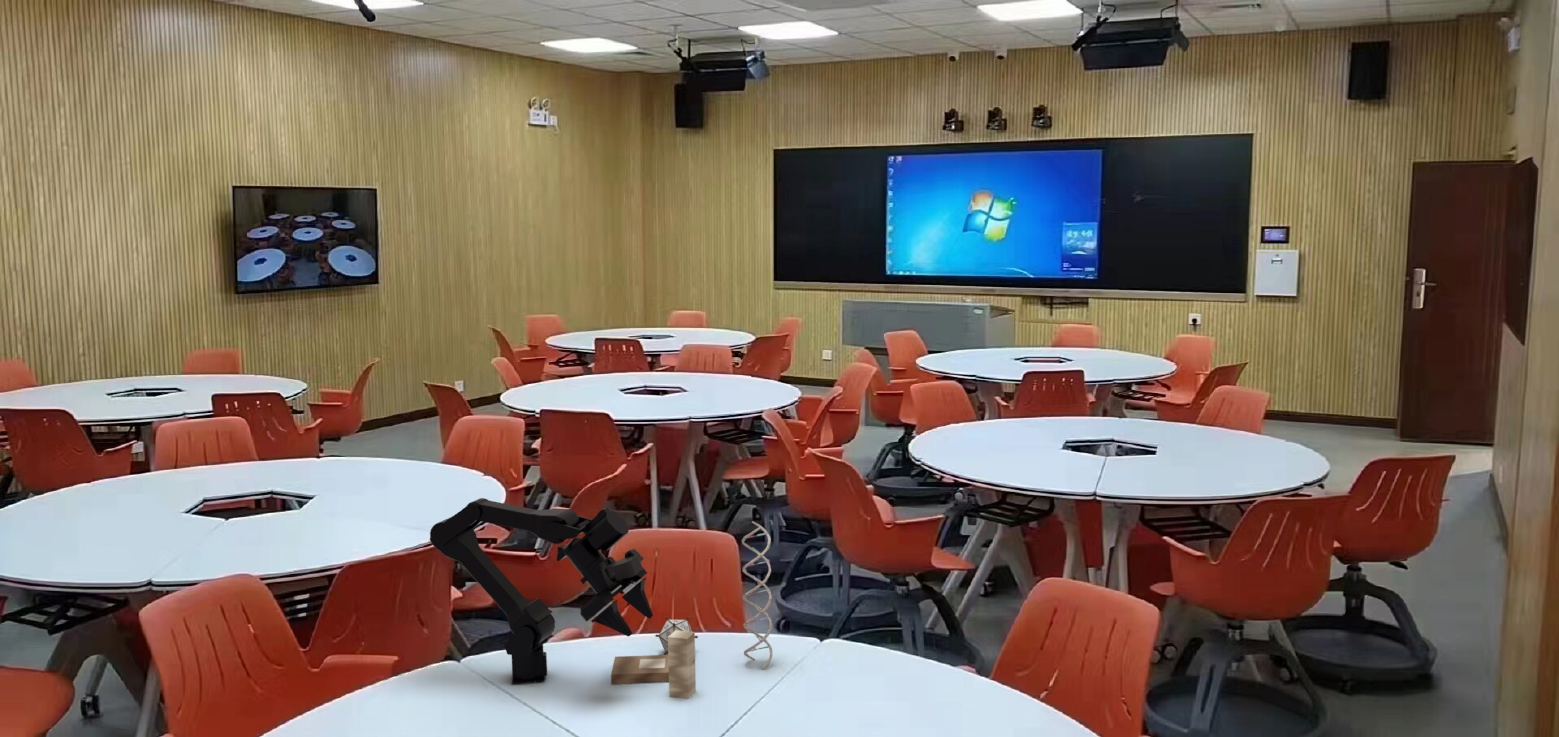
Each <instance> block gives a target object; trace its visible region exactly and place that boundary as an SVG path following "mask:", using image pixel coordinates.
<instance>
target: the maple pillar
mask: <svg viewBox="0 0 1559 737" xmlns="http://www.w3.org/2000/svg"><path fill="white" fill-rule="evenodd" d="M695 636H696V635H695V631H693V632H689V631H678V630H675V631H674V632H673V633H672V634H671V635H670V636H668V653H667V655H668V664H669V682H668V694H669V695H668V696H669V698H679V699H690V698H691V697H692V696H693V695H694V693H696V691H697V689H696V688H697V684H696V683H697V682H696V644H695V643H696V642H695V641H696V638H695Z"/></svg>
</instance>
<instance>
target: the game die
mask: <svg viewBox="0 0 1559 737" xmlns="http://www.w3.org/2000/svg"><path fill="white" fill-rule="evenodd" d="M664 617H665V620H666V621H665V622H664V624H663V627H662V629H661V630H660V632H659V634H655V635H654V636H655V637H656V638H658V639H659V641H660V643H661V646H662V648H663V650H664V651H665V652H664V653H663V655H668V636H670V635H671V634H672V633H673V632H674V631H675V630H678V631H689V632H694V631H693V630H692V627H691V624H690V622H689V620H690V618H691V616H688V617H687V618H686V619H677V618H676V619H672V618H671V619H670V618H669V617H668V616H666V615H665V616H664ZM698 638H699V636H698V635H695V639H698Z"/></svg>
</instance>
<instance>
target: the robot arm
mask: <svg viewBox="0 0 1559 737" xmlns="http://www.w3.org/2000/svg"><path fill="white" fill-rule="evenodd" d="M481 522H483V523H487V524H492V525H496V526H501V527H507V528H513V529H517V530H521V531H526V532H529V533H531V534H533V535H534V536H535V537H537V538H538V539H541V540H543V541H546V542H548V543H550V544H554V545H559V544H561V545H559V546H558V547H557V553H556V554H557V555H556V558H555V559H556V561H557V562H560V561H562V560H563V559H565V558H567V559H568V560H569V561H570V562H571V564H572V565H573V566H574V568H575V569H576V570H577V571H578V572H579V574H580V575H581V576H582V578H581V579H580V580H579V581H580V583H581V584H582V585H584V584H586V583H587V584H588V585H589V587H591V589H592V590H593V592H595V594H594V595H593V596H592V598H591V599H590V600H588V601H587V602H586V603H585V604H584V605H583V606H581V607H580V616H581V617H582V619H583V620H584V621H585V622H586V623H587V622H588V621H590V622H591V623H597V624H599V625H602V626H604V627H607V628H609V629H611V630H613V631H616V632H618V633H620V634H622V635H624V636H625V637H627V638H628V637H630V636H631V635H632V634H633V631H632V630H631V628H630V626H629V624H628V623H627V622H626V621H625V619H624V617H623V616H622V614H621V613H620V612H619V609H618V599H616V600H615V601H613V600H614V598H615V597H617V595H619V594H620V595H622V597H621V598H622V599H623V600H624V601H625V602H627V603H628V604H629V605H630V606H632V607H633V608H634V609H635V610H636V611H638V612H639V613H641V614H642V615H643V616H644V617H646V618H647V619H652V617H654V614H653V611H652V608H651V605H650V603H649V601H648V598H647V595H646V592H645V585H646V581H647V576H646V575H647V574H648V572H647V570H646V569H645V568H644V567H643V565H642V562H643V560H644V556H642V555H641V554H640V553H639V552H638V550H636V549H635V548H632V549H629V550H628V551H626V552H624V557H622V558H621V559H619V560H616V559H615V558H614V557H612V556H608V557H605V555H604V554H603V553H602V551H604V552H605V551H606V552H607V551H609V550H610V549H611V548H612V547H614V545H616V544H617V543H618V542H619V541H620V540H622V539H623V538H624V537H625V536H626V535H627V534H628V533H629V530H630V529H629V526H628V523H627V522H626V519H624V517H622V516H620V515H619V514H618V513H616V512H614V511H611V510H610V509H609V508H608V507H604V508H602V509H601V510H600V511H598V513H597V514H596V516H594V517H593V518H592V519H591V518H588V517H584V516H581V515H578V514H577V512H576V511H575V510H573V509H570V508H551V509H550V508H549V509H548V508H547V509H533V508H528V507H525V506H524V507H523V506H518V505H513V504H508V503H504V502H497V501H493V500H489V499H487V498H484V497H480V498H478V499H475V500H473V501H471V502H469V503H468V504H467V505H466V506H465V507H464V508H462V509H461V510H459V511H458V512H457V513H456V514H454V515H452V516H450V517H448V518H446V519H443V520H442V521H439V522H437V523H435V524H434V525H432V527H431V528H430V532H429V541H430V543H431V545H432V546H433V547H434V549H435V548H436V550H437V551H439V552H440V553H441V554H443V555H444V556H445V557H447V558H448V559H449V558H450V559H451V560H454V561H456V562H459V563H460V564H461V565H462V567H463V568H464V569H466V571H467V572H468V573H469V574H470V575H471V577H472V578H473V579H474V580H475V581H476V582H477V583H478V584H479V586H480V587H481V588H482V589H483V591H485V592H486V593H487V594H488V595H489V597H491V599H492V600H493V601H494V602H495V603H496V605H497V606H498V607H499V608H500V609H501V610H502V612H503V613H504V614H505V615H506V619H507V622H508V625H509V626H508V627H509V630H510V631H511V633H512V634H513V635H512V636H511V637H510V638H509V639H508V641H506V642H505V644H504V645H503V646H504V649H505V652H506V654H507V655H510V656H511V673H512V676H511V684H512V685H519V684H529V683H530V684H532V683H542V682H545V678H546V676H547V675H548V661H547V660H548V656H547V652H546V651H544V644H546V643H547V642H548V640H549V637H550V636H552V634H553V633H554V631H555V627H556V625H555V624H556V623H555V622H556V620H555V618H554V616H553V615H552V613H553V610H551V609H550V608H548V607H547V606H546V605H545V603H544V602H543V600H542V599H541V598H538V597H537V598H536V599H534V600H533V601H532V600H530V599H528V598H526V597H525V596H524V595H523V594H522V593H521V592H520V591H519V589H518V588H517V587H516V586H515V585H514V584H513V583H512V582H511V581H510V580H509V579H508V577H507V576H506V575H505V574H504V573H503V572H502V571H501V570H500V568H499V567H498V566H497V565H496V564H495V563H494V562H493V561H492V559H491V558H490V557H489V556H488V555H487V554H486V553H485V552H484V550H483V549H482V548H481V547H480V544H479V541H478V540H479V539H478V537H477V533H476V531H475V530H474V528H476V527H477V526H478V525H479V524H481ZM582 534H584V535H583V537H581V538H580V537H579V536H581V535H582ZM569 539H570V540H571V541H569V542H568V543H567V544H562V543H564V542H566V541H567V540H569ZM645 576H646V577H645ZM641 579H642V580H641ZM612 601H613V602H612ZM592 618H593V619H592ZM591 619H592V620H591Z"/></svg>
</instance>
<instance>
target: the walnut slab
mask: <svg viewBox="0 0 1559 737" xmlns="http://www.w3.org/2000/svg"><path fill="white" fill-rule="evenodd" d="M612 664H613V665H612V668H611V669H612V670H611V674H610V683H611V685H619V684H621V685H623V684H627V685H628V684H644V683H645V684H647V683H648V684H649V683H650V684H651V683H652V684H653V683H669V664H668V654H666V655H664V654H654V655H652V654H650V655H624V656H623V655H622V656H615V657H614V659H613V663H612Z"/></svg>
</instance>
